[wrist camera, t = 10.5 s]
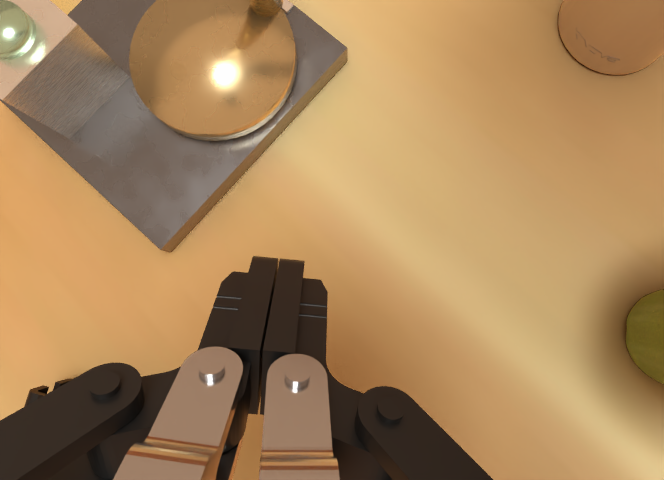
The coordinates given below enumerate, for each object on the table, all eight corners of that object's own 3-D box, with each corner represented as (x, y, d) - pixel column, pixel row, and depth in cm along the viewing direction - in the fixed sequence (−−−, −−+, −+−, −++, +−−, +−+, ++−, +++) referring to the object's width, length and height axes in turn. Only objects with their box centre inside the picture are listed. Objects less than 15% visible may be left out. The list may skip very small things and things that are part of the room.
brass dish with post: (143, -8, 37) (71, -114, 27) (297, -12, 36) (280, -122, 27) (134, 142, 35) (54, 83, 26) (296, 139, 35) (276, 79, 25)
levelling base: (182, -72, 40) (127, -194, 30) (347, 61, 38) (346, -24, 28) (9, 102, 38) (-109, 33, 28) (170, 252, 36) (103, 234, 26)
